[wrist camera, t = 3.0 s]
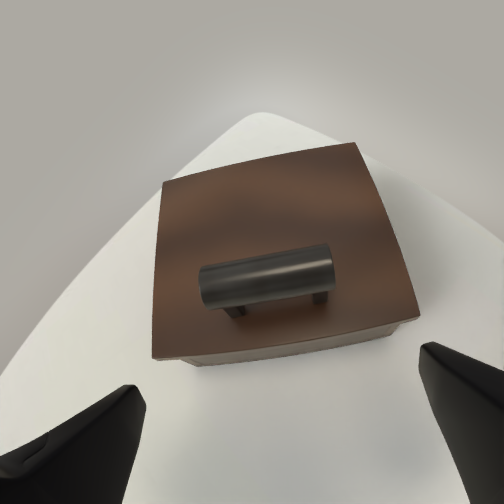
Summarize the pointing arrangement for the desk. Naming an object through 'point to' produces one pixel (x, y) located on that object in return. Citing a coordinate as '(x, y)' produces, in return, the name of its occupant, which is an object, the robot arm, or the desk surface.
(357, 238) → the bin lid
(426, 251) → the desk surface
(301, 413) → the desk surface
